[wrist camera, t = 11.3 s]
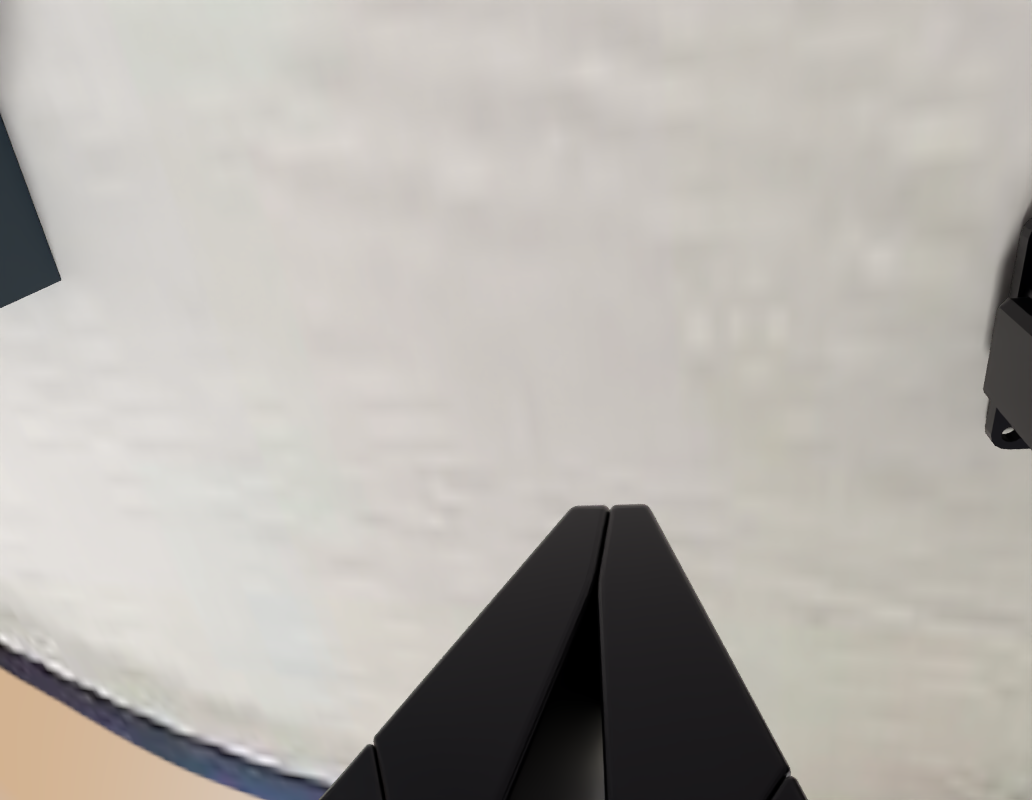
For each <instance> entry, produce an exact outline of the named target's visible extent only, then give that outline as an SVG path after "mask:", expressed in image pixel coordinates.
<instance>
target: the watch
mask: <svg viewBox="0 0 1032 800" xmlns="http://www.w3.org/2000/svg"><path fill="white" fill-rule="evenodd" d="M59 281H61V278H60V276H59V273H58V270H57V268H56V265H55V262H54V259H53V257H52V254H51V251H50V249H49V246H48V243H47V240H46V238H45V235H44V232H43V230H42V227H41V224H40V221H39V219H38V216H37V213H36V211H35V208H34V205H33V203H32V200H31V197H30V194H29V192H28V189H27V186H26V184H25V181H24V178H23V175H22V173H21V170H20V167H19V165H18V162H17V159H16V156H15V154H14V151H13V148H12V146H11V143H10V140H9V137H8V135H7V132H6V129H5V127H4V124H3V121H2V118H1V116H0V308H2V307H4V306H6V305H8V304H11V303H13V302H15V301H17V300H19V299H21V298H24V297H26V296H28V295H30V294H32V293H35V292H37V291H39V290H41V289H43V288H46V287H48V286H50V285H52V284H54V283H56V282H59Z"/></svg>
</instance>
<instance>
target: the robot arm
mask: <svg viewBox="0 0 1032 800" xmlns="http://www.w3.org/2000/svg"><path fill="white" fill-rule="evenodd" d="M983 390H984V393H985V394H986V395H987V397H988V398H989V399H990V403H989V408H988V413H987V419H986V424H985V433H986V434H987V436H988V437H989V438H990V440H991V441H992V442H993V444H994V445H995V446H997V447H999V448H1001V449H1031V450H1032V218H1031V219H1030V220H1029V221H1028V222H1027V223H1026V224H1025V225H1024V227H1023V230H1022V232H1021V235H1020V240H1019V246H1018V251H1017V256H1016V262H1015V267H1014V273H1013V278H1012V283H1011V289H1010V294H1009V298H1007V299H1006V300H1005V301H1004V302H1003V303H1002V304H1001V305H1000V306H999V307H998V309H997V314H996V320H995V325H994V331H993V337H992V342H991V348H990V354H989V359H988V365H987V371H986V376H985V382H984V388H983ZM1008 427H1013V428H1014V430H1013V431H1012V432H1010V433H1007V434H1002V432H1003V431H1004V430H1005V429H1007V428H1008ZM319 800H808V799H807V798H806V796H805V794H804V792H803V790H802V788H801V786H800V785H799V783H798V781H797V779H796V778H794V777H792V776H791V771H790V767H789V765H788V763H787V761H786V760H785V758H784V756H783V754H782V752H781V750H780V748H779V747H778V745H777V743H776V741H775V739H774V737H773V735H772V734H771V732H770V730H769V728H768V726H767V724H766V723H765V721H764V719H763V717H762V715H761V713H760V711H759V710H758V708H757V706H756V704H755V702H754V700H753V698H752V697H751V695H750V693H749V691H748V689H747V687H746V685H745V684H744V682H743V680H742V678H741V676H740V674H739V672H738V671H737V669H736V667H735V665H734V663H733V661H732V659H731V658H730V656H729V654H728V652H727V650H726V648H725V646H724V645H723V643H722V641H721V639H720V637H719V635H718V633H717V632H716V630H715V628H714V626H713V624H712V622H711V620H710V619H709V617H708V615H707V613H706V611H705V609H704V607H703V606H702V604H701V602H700V600H699V598H698V596H697V594H696V593H695V591H694V589H693V587H692V585H691V583H690V581H689V580H688V578H687V576H686V574H685V572H684V570H683V568H682V567H681V565H680V563H679V561H678V559H677V557H676V555H675V554H674V552H673V550H672V548H671V546H670V544H669V542H668V541H667V539H666V537H665V535H664V533H663V531H662V529H661V528H660V526H659V524H658V522H657V520H656V518H655V516H654V515H653V513H652V511H651V509H650V508H649V507H648V506H647V505H645V504H629V505H614V506H613V507H612V508H611V509H610V510H609V508H608V507H607V506H605V505H590V506H575V507H573V508H571V509H570V510H569V511H568V512H567V513H566V514H565V516H564V517H563V518H562V519H561V520H560V521H559V522H558V524H557V525H556V526H555V527H554V528H553V529H552V531H551V532H550V533H549V534H548V535H547V536H546V538H545V539H544V540H543V541H542V542H541V543H540V545H539V546H538V547H537V548H536V549H535V550H534V552H533V553H532V554H531V555H530V556H529V557H528V559H527V560H526V561H525V562H524V563H523V564H522V566H521V567H520V568H519V569H518V570H517V571H516V572H515V574H514V575H513V576H512V577H511V578H510V579H509V581H508V582H507V583H506V584H505V585H504V586H503V588H502V589H501V590H500V591H499V592H498V593H497V595H496V596H495V597H494V598H493V599H492V600H491V602H490V603H489V604H488V605H487V606H486V607H485V609H484V610H483V611H482V612H481V613H480V614H479V616H478V617H477V618H476V619H475V620H474V621H473V622H472V624H471V625H470V626H469V627H468V628H467V629H466V631H465V632H464V633H463V634H462V635H461V636H460V638H459V639H458V640H457V641H456V642H455V643H454V645H453V646H452V647H451V648H450V649H449V650H448V652H447V653H446V654H445V655H444V656H443V657H442V659H441V660H440V661H439V662H438V663H437V664H436V666H435V667H434V668H433V669H432V670H431V671H430V673H429V674H428V675H427V676H426V677H425V678H424V679H423V681H422V682H421V683H420V684H419V685H418V686H417V688H416V689H415V690H414V691H413V692H412V693H411V695H410V696H409V697H408V698H407V699H406V700H405V702H404V703H403V704H402V705H401V706H400V707H399V709H398V710H397V711H396V712H395V713H394V714H393V716H392V717H391V718H390V719H389V720H388V721H387V723H386V724H385V725H384V726H383V727H382V728H381V729H380V731H379V732H378V733H377V734H376V735H375V737H374V745H372V744H368V745H366V746H365V748H364V749H363V750H362V751H361V752H360V753H359V755H358V756H357V757H356V758H355V759H354V760H353V762H352V763H351V764H350V765H349V766H348V767H347V769H346V770H345V771H344V772H343V773H342V774H341V775H340V777H339V778H338V779H337V780H336V781H335V782H334V783H333V784H332V786H331V787H330V788H329V789H328V790H327V791H326V792H325V793H324V794H323V796H322V797H321V798H320V799H319Z"/></svg>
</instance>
